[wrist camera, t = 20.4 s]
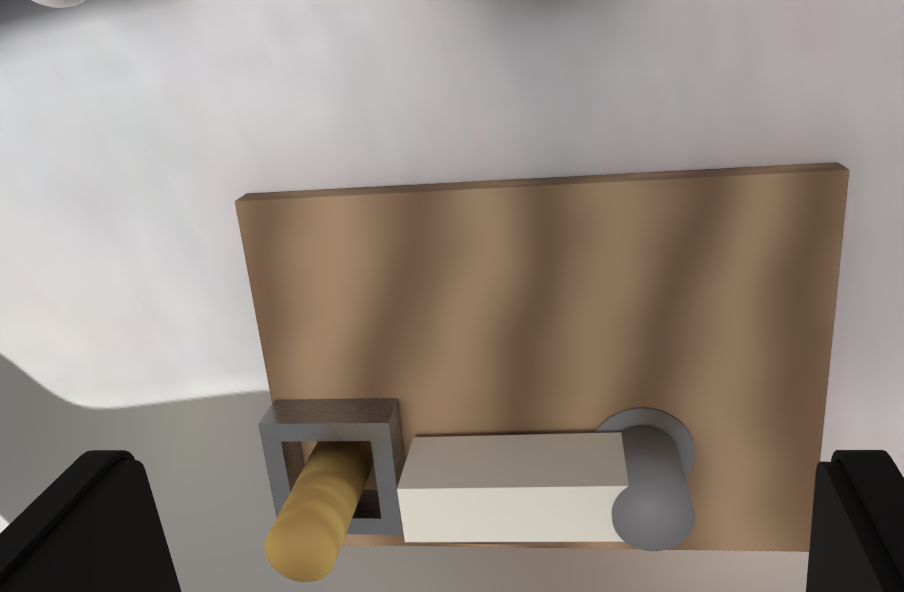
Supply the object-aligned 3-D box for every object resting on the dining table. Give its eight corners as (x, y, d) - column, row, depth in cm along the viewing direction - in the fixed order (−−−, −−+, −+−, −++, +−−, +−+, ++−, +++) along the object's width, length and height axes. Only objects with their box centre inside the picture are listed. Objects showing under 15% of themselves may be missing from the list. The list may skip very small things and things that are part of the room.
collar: (398, 397, 40) (388, 422, 38) (410, 505, 43) (402, 535, 40) (274, 399, 41) (258, 424, 39) (294, 504, 43) (279, 533, 41)
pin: (371, 426, 41) (329, 523, 34) (377, 478, 42) (339, 583, 35) (312, 426, 41) (259, 522, 34) (320, 477, 43) (270, 581, 35)
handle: (679, 425, 38) (695, 483, 34) (679, 487, 40) (694, 551, 35) (412, 432, 40) (394, 487, 36) (420, 491, 42) (404, 551, 37)
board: (837, 162, 35) (871, 183, 31) (802, 533, 42) (826, 585, 38) (246, 193, 39) (213, 215, 35) (306, 527, 46) (284, 574, 42)
